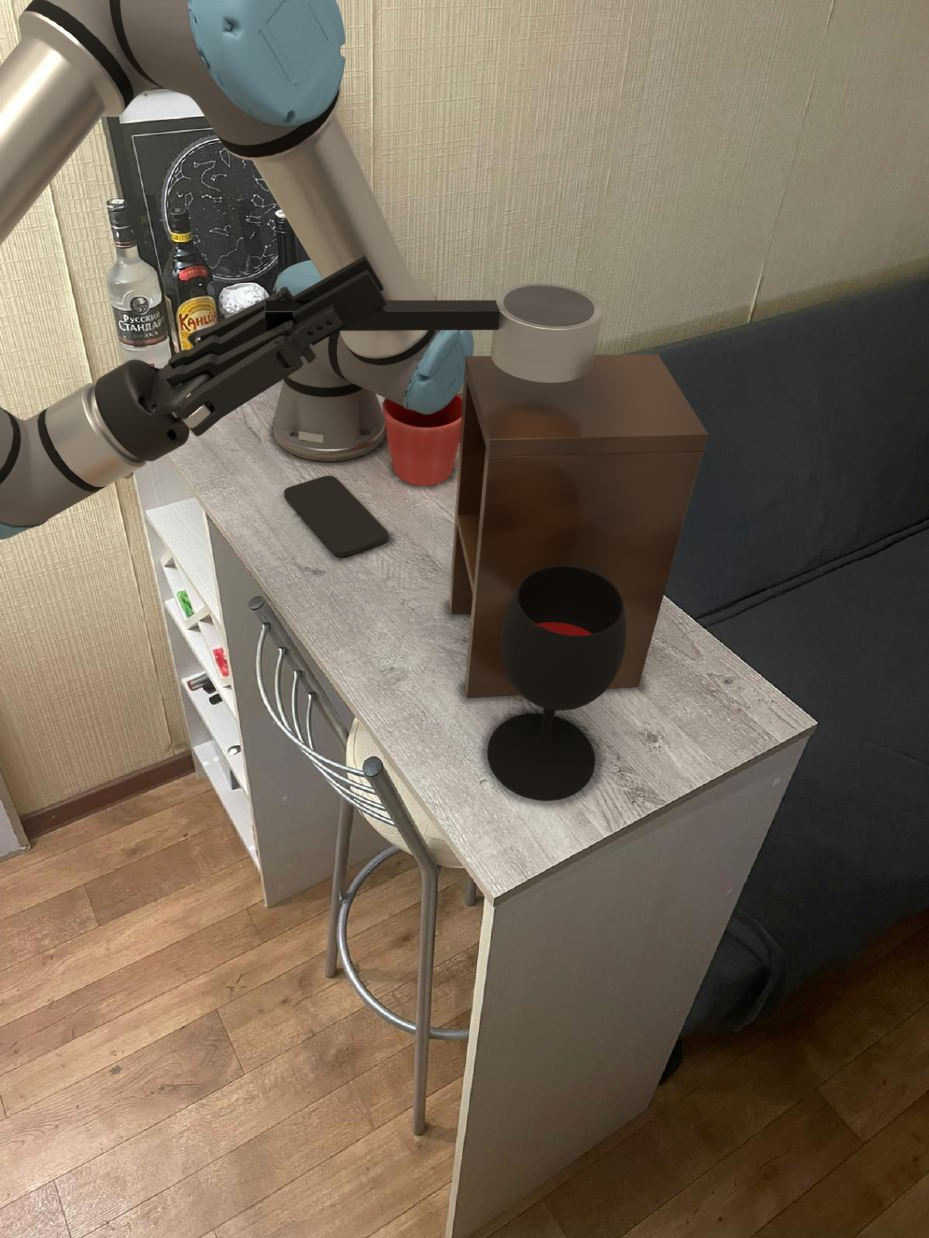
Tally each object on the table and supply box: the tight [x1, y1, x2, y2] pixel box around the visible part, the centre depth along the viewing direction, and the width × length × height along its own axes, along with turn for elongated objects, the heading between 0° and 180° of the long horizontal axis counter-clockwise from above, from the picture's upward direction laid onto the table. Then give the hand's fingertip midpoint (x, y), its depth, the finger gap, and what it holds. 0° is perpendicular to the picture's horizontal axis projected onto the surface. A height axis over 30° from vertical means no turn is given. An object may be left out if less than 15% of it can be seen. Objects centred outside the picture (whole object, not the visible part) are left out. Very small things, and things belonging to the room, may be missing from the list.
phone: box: [283, 475, 389, 558], centre depth 112 cm, size 7×1×15 cm
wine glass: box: [486, 565, 626, 801], centre depth 80 cm, size 10×10×20 cm
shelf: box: [448, 353, 709, 699], centre depth 88 cm, size 18×14×30 cm
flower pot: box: [382, 393, 463, 487], centre depth 118 cm, size 11×11×10 cm
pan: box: [265, 282, 603, 383], centre depth 72 cm, size 26×8×5 cm, turn 98°
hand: (375, 280), depth 69 cm, fingers closed on pan, 2 cm apart
